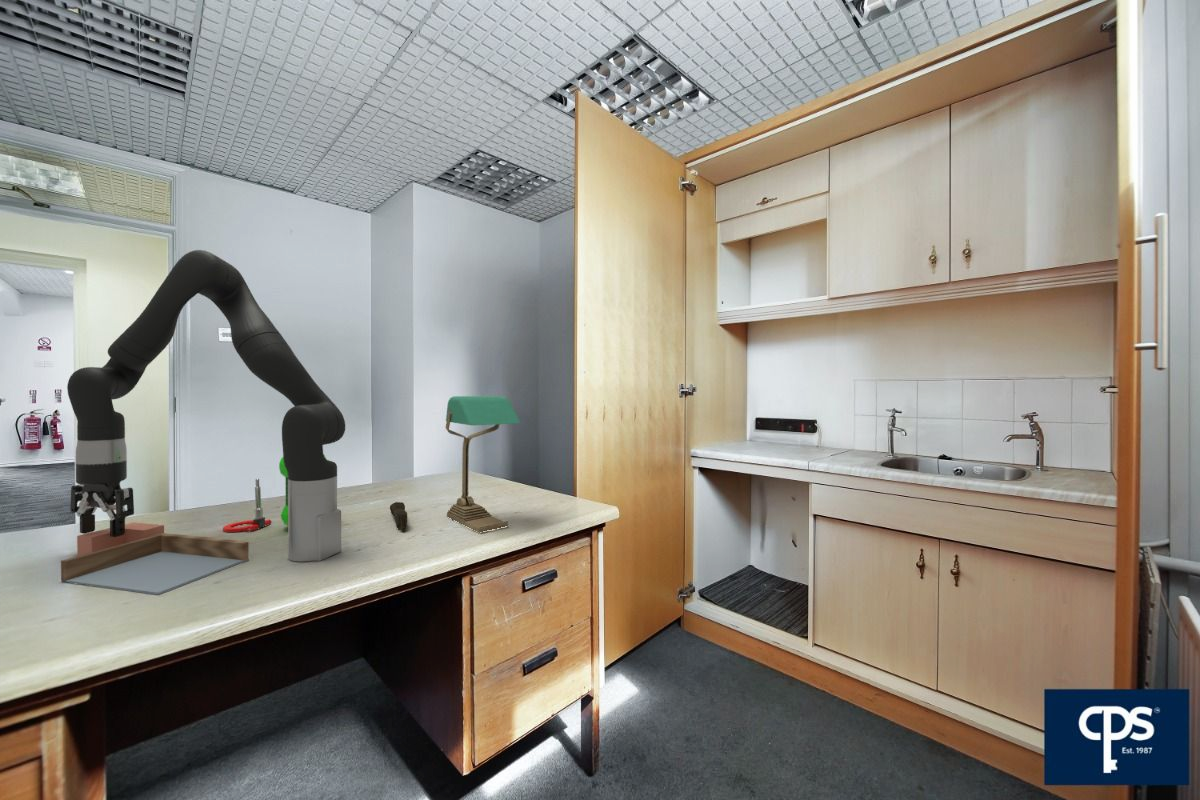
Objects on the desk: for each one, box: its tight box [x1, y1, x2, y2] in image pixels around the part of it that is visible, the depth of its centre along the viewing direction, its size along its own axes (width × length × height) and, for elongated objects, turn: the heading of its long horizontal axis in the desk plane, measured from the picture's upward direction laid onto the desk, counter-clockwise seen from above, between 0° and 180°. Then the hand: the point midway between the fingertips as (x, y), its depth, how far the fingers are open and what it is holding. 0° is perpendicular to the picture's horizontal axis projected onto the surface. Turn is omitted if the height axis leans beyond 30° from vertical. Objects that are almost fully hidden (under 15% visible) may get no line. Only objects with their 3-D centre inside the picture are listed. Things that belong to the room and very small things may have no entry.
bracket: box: [76, 521, 165, 556], centre depth 102 cm, size 9×10×5 cm
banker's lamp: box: [445, 395, 522, 534], centre depth 128 cm, size 16×21×35 cm
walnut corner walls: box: [60, 532, 250, 583], centre depth 93 cm, size 23×17×4 cm
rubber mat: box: [60, 551, 249, 596], centre depth 93 cm, size 23×17×1 cm
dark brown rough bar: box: [389, 501, 408, 533], centre depth 127 cm, size 19×4×5 cm, turn 25°
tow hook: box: [222, 478, 272, 533], centre depth 121 cm, size 8×13×9 cm
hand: (102, 534), depth 101 cm, fingers open, 8 cm apart
